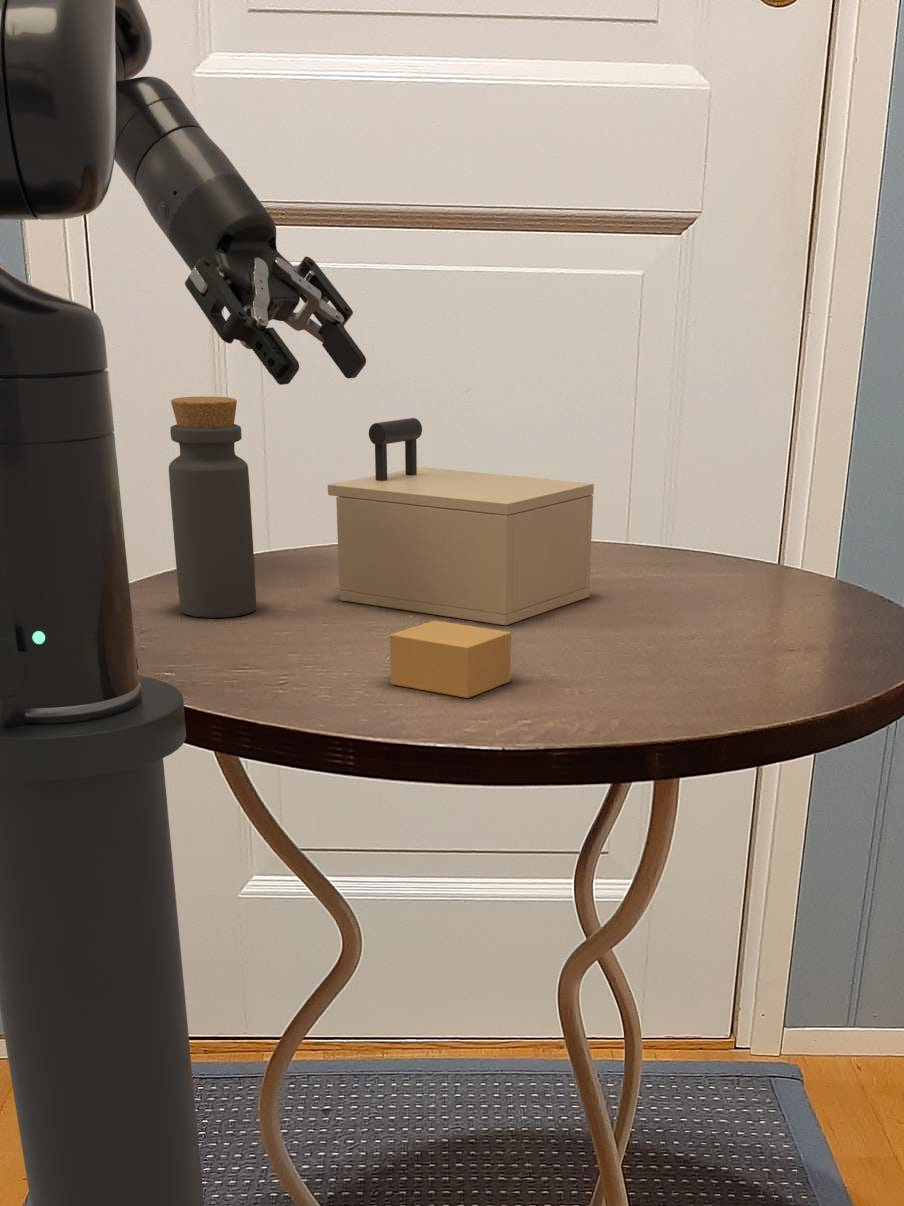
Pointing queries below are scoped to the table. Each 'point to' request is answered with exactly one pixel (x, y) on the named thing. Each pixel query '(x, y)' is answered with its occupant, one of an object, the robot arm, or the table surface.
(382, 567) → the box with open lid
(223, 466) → the bottle
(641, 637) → the table surface
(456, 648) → the tan cardboard carton
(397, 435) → the hinged handled lid
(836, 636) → the table surface
